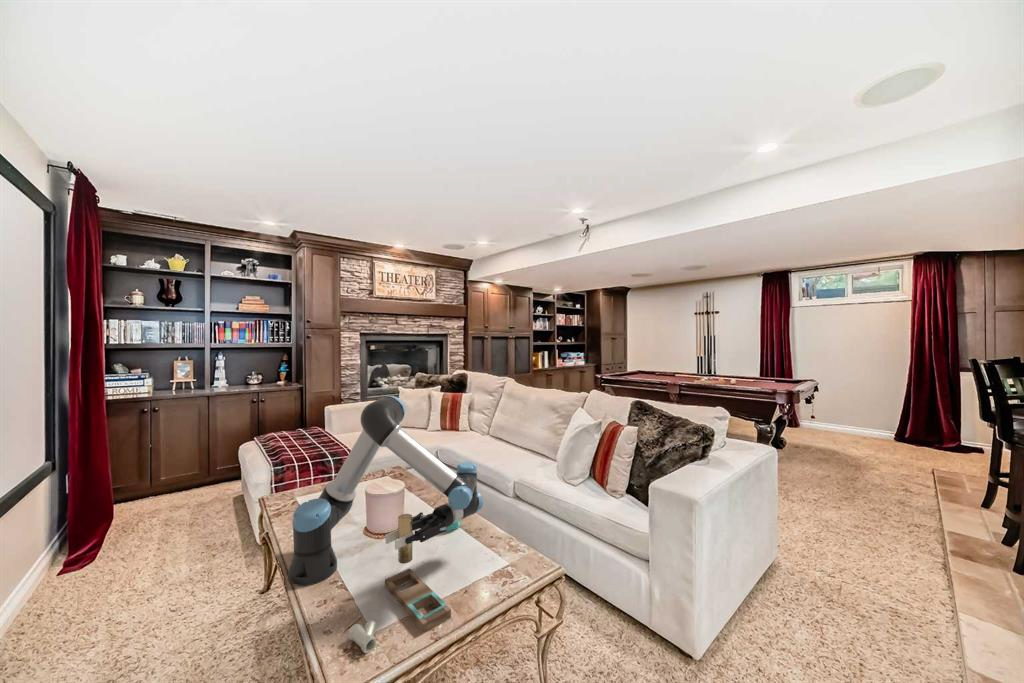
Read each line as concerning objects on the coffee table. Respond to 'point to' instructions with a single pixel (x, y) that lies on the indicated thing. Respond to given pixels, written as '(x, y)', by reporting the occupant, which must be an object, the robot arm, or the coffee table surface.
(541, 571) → the coffee table surface
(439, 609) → the walnut rail
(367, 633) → the pipe fitting
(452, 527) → the decorative dice
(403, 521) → the brass peg
